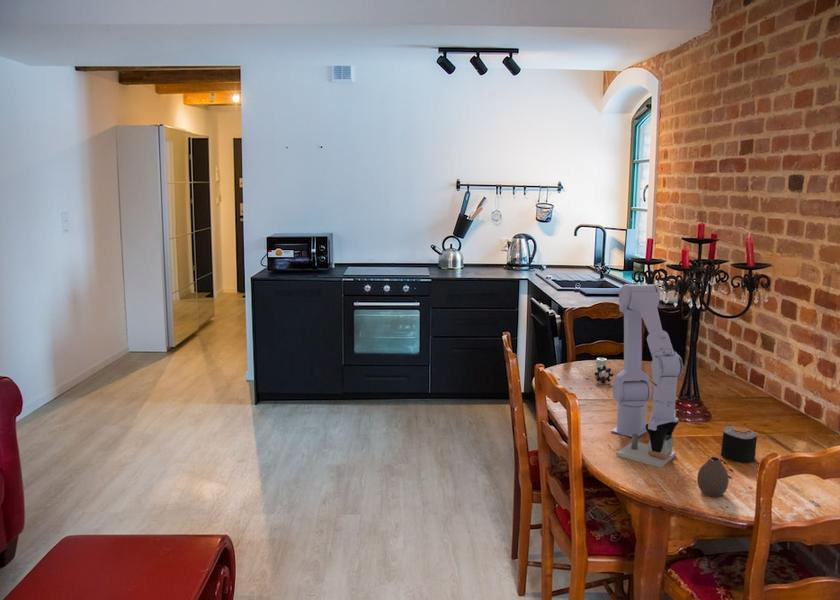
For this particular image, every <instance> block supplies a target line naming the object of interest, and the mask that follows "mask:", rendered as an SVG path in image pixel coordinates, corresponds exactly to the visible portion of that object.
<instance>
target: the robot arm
mask: <svg viewBox="0 0 840 600" xmlns="http://www.w3.org/2000/svg"><path fill="white" fill-rule="evenodd" d="M660 298H661V292H660V288H659V287H658V285H657V284H655V283H652V284H629V283H624V284H622V286H621V287H620V289H619V293H618V307H619V312H620V313H622V314H623V369H622V370H620V372H618V373H617V374H616V375H615V376H614V378H613V379H614V381H613V385H612V395H613V399H614V400H615V401H616V402H617V417H616V426H615V427H614V428H612V429H610V432H611V433H614V434H619V435H622V436H626V437H630V438H632V434H638V438H639V437H641V436H642V435H643V434H645V433H646V432H647V434H648V437H649V439H650V442H651V448H652V451H654V452H658V453H660V452H661V449H662V445H663V441H664V438H665V435H670V436H673V433H674V431H675V429H676V427H677V426H678V424H679V418H678V417H676V415H677V410H676V401H677V400H676V398H677V397H676V396H677V387H678V378H679V377H681V376H682V375H683V371H684V364H683V359H682V357H681V356H680V355H679V354H678V352H677V351H675V350H674V348H673V344H672V343H671V338H670V335H669V333H668V332H667V331H666V330H663V327H662V322H661V319H660V318H661V317H660V315H659V310H658V306H659V303H660V300H661V299H660ZM642 320H643V321H642ZM642 322H643V323H644V325H645V327H646V330H647V332H648V334H647V337H646V341H647V346H648V348H649V352H650V355H651V358H652V360H651V363H650V368H651V374H652V376H651V377H650V376H649V375H648V374H647V373H645V372H644V371H643V370H642V369H643V368H642V366H643V365H642V360H643V358H642V353H643V351H642V350H643V349H642V348H643V347H642V346H643V344H642V343H643V341H642V335H643V334H642V332H643V331H642V328H643V326H642ZM650 378H651V380H652V382H653V390H652V387H651V380H650ZM651 398H652V403H651V413H650V417H649V421H648V423H647V419H648V418H647V417H648V406H647V403H648V402H649V401H650V400H651Z"/></svg>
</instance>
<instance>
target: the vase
mask: <svg viewBox="0 0 840 600" xmlns="http://www.w3.org/2000/svg"><path fill="white" fill-rule="evenodd" d="M696 479H697V485H698V488H699V490H700V491H701V492H702V493H703V494H704V495H705V496H708V497H712V498H713V497H714V498H716V497H717V498H718V497H720V496H723V494H725V493H726V492H727V489H728V487H729V483H730V477H729V473H728V471H727V469H726V467H725V465H724V464H723V463H722V460H721V459H720V458H719V457H716V456H710V457H709V458H708V460H707V461H706V462H705V463H703V464H702V465H701V467H699V470H698V472H697V478H696Z"/></svg>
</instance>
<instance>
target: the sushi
mask: <svg viewBox="0 0 840 600" xmlns="http://www.w3.org/2000/svg"><path fill="white" fill-rule="evenodd" d="M724 427H725V428H722V431H723V432H722V440H721V451H720V456H721V457H723V459H724V458H725V459H726V460H729V461H733V462H735V463H740V464H750V463H753V461H755V459H756V449H757V440H758V432H757V431H756V432H755V431H754V430H753V429H750V428H747V427H742V426H735V425H729V426H724Z"/></svg>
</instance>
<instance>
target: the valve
mask: <svg viewBox="0 0 840 600" xmlns="http://www.w3.org/2000/svg"><path fill="white" fill-rule="evenodd" d="M611 371H612V368H611V367H608V364H607V358H604V357H597V358H596V364H595V372H594V376H596V378H595V379H596V382H599V381H601V383H602V384H606V383H605V382H606V381H607V382H608V383H609V382H611V381H612V380H611V378H610V377H614V374H613V373H612V372H611ZM610 372H611V373H610ZM607 373H608V375H607Z"/></svg>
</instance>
